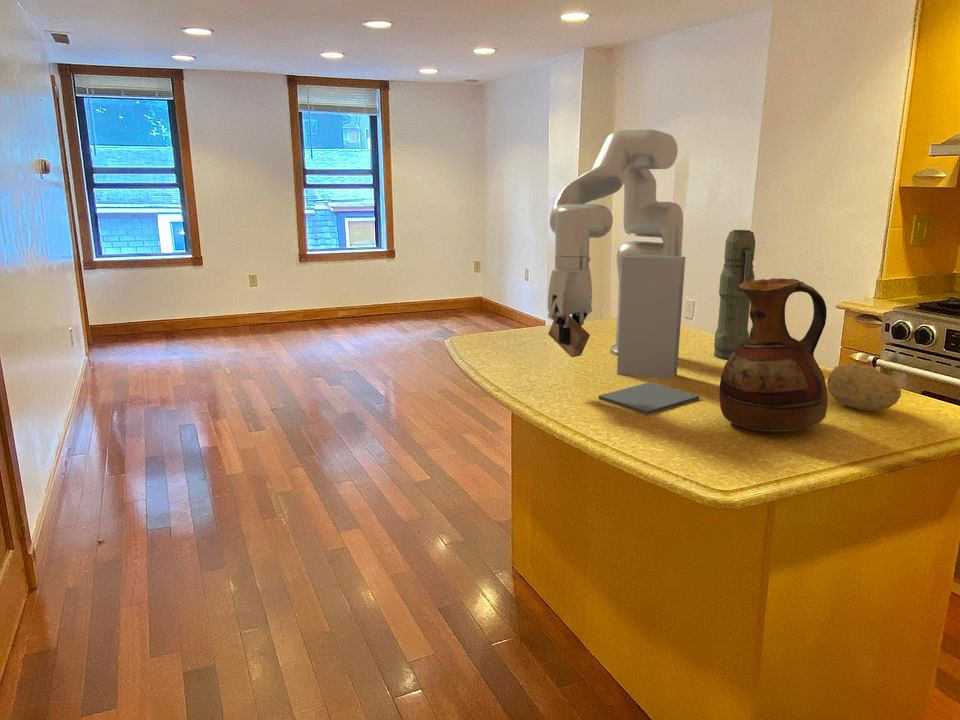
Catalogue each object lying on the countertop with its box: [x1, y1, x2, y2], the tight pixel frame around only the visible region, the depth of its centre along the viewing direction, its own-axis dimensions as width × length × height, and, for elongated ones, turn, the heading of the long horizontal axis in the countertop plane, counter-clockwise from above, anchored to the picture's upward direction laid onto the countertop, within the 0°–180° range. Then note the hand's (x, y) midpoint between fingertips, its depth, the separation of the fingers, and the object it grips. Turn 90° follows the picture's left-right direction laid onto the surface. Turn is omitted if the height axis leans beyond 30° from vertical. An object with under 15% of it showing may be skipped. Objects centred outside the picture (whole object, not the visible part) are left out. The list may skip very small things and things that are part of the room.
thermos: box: [713, 229, 756, 361], centre depth 190 cm, size 9×12×35 cm
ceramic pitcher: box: [718, 278, 829, 432], centre depth 137 cm, size 20×20×30 cm
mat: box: [598, 381, 700, 416], centre depth 157 cm, size 18×14×1 cm
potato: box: [826, 363, 902, 412], centre depth 149 cm, size 10×14×10 cm
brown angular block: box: [547, 315, 591, 358], centre depth 160 cm, size 3×9×6 cm, turn 37°
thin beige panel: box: [616, 254, 686, 381], centre depth 173 cm, size 14×6×30 cm, turn 65°
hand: (569, 342), depth 160 cm, fingers closed on brown angular block, 2 cm apart
